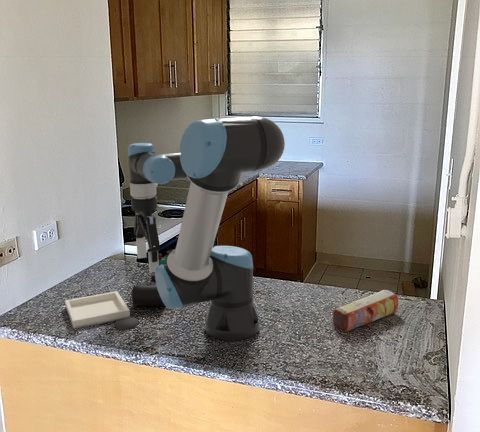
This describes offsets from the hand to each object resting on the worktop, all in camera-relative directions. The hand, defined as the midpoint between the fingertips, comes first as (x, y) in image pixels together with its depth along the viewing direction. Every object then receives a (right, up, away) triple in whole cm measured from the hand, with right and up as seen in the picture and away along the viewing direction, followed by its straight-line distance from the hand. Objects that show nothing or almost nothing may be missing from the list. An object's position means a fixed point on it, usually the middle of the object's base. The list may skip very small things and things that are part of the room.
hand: (148, 264), depth 159 cm
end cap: (0, -13, +3) cm, 14 cm away
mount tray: (-15, -14, -2) cm, 21 cm away
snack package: (+64, -16, -10) cm, 66 cm away
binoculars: (+1, -8, +25) cm, 26 cm away
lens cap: (-4, -17, -10) cm, 20 cm away
